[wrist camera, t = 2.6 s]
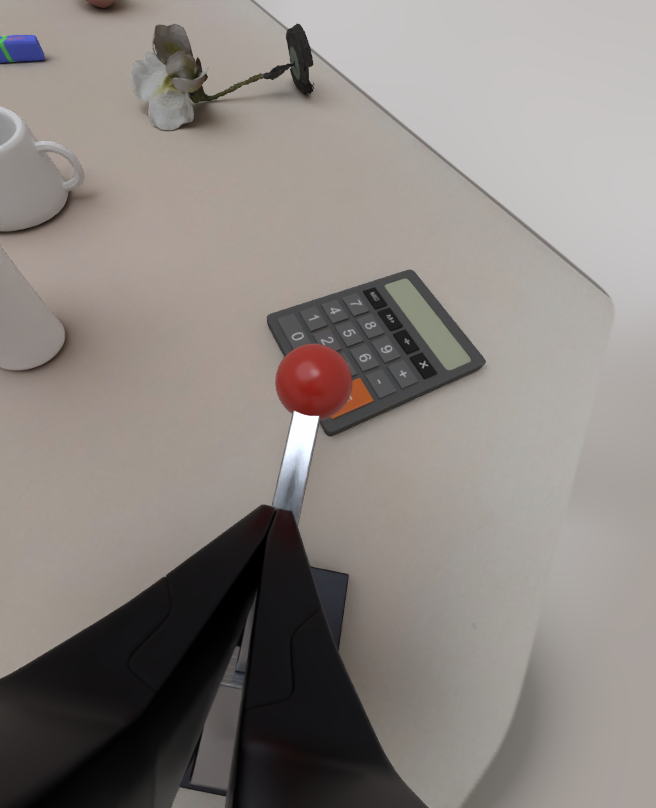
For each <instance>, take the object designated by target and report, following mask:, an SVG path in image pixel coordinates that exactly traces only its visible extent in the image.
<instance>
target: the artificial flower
mask: <svg viewBox="0 0 656 808" xmlns="http://www.w3.org/2000/svg"><path fill="white" fill-rule="evenodd" d="M286 40H287V43H288V49H289V55H290V62H291V64H286V65H282V66H279V65H278V66H277V67H275V68H273V69H272V70H271V71H270V72H269V73H265V74H261V73H260V74H259V75H255V76H253V77H250V78H249V79H248V80H246V81H244V82H240V83H237V84H235V85H234V86H231V87H230V88H229V89H227V90H225V91H223V92H220V93H218V94H216V95H213V96H208V95H206V94H205V93H204V90H203V87H202V84H203V83H204V82H205V81H206V79H207V78H208V76H207V75H206V73H207V70H208V67H206V68H205V70H204V71H203V72H202V67H201V62H200V60H199V58H197V59H196V61H195V59H194V58H193V54H192V50H191V46H190V42H189V39H188V37H187V34H186V32H185V30H184V28H183V27H181V26H180V25H177V24H173V25H170V26H165V25H156V26H155V27H154V35H153V44H154V45H155V50H156V52H157V54H155V51H154V47H153V51H154V53H146V54H145V58H144V59H143V60H140V61H135V62H134V63H133V69H132V73H131V75H130V79H131V84H132V88H133V91H134V93H135V95H136V96H137V97H138V98H139V99H140V100H142V101H145V102H148V103H149V108H148V116H149V118H150V119H151V121H152V122H153V123H154V124H155V125H156V126H157V127H158V128H159V129H161V130H165V131H166V130H174V129H177V128H179V127H180V125H182V124H184V123H190V122H192V121H193V117H194V111H193V107H192V104H191V101H190V99H191V100H192V101H193V102H194V103H199V102H202V101H211V100H214V99H217V98H218V97H220V96H224V95H226V94H227V93H231V92H233V91H235V90H236V89H237V88H240V87H241V86H242V85H246V84H249V83H251V82H255V81H257V80H259V79H262V78H265V79H271V80H274V79H275V78H277V77H279V76H280V75H282V74H283V73H284V71H285V70H287V69H289V67H291V66H292V67H291V69H290V71H291V75H292V78H293V81H294V84H295V85H296V87H299V88H300V89H301V90H302V91H303V92H304V93H309V94H311V91H312V92H313V89H314V86H313V85H312V84H311V83H310V81H309V69H308V67H311V66H313V60H312V55H311V49H310V46H309V43H308V40H307V37H306V34H305V31H304V30H303V28H302V27H301V25H300V24H296V25H295V26H293V27H292V28H290V29H288V30H287V33H286ZM313 84H314V83H313ZM312 86H313V89H312ZM152 122H151V123H152ZM153 123H152V125H153V126H154V127H155V125H154V124H153Z"/></svg>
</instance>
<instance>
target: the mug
mask: <svg viewBox="0 0 656 808" xmlns="http://www.w3.org/2000/svg"><path fill="white" fill-rule="evenodd" d="M46 152H54V153H57V154H60V155H62V156H63V157H65V158H66V159H67V160H68V161H69V162H70V163H71V165H72V166H73V169H74V176H73V178H72V179H70V180H68V181H65V179H64V177H63V176H62V174H61V173H60V171H59V170H58V168H57V167H56V165H55V164H54V162H53V161H52V160H51V158H50V157H49V156H48V154H47V153H46ZM84 178H85V177H84V170H83V168H82V165H81V164H80V162H79V160H78V159H77V158H76V156H75V155H74V154H73V153H72V152H71V151H69V150H68V149H67V148H66V147H64V146H62V145H60V144H58V143H55V142H50V141H40V142H38V140H37V139H36V137H35V136H34V135H33V133H32V132H31V130H30V129H29V128H28V126H27V125H26V123H25V122H24V121H23V119H22V118H21V117H20V116H19V115H17V114H16V113H14V112H13V111H11V110H8V109H5V108H3V107H0V231H15V230H22V229H26V228H29V227H33V226H36V225H39V224H41V223H43V222H45V221H47V220H49V219H51V218H52V217H53V216H55V215H56V214H57V213H59V212H60V210H61V209H62V208H63V207H64V205H65V203H66V200H67V197H68V191H70V190H73V189H76V188H78V187H79V186H80V185H81V184H82V183H83V181H84Z"/></svg>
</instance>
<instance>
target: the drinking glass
mask: <svg viewBox="0 0 656 808" xmlns="http://www.w3.org/2000/svg"><path fill="white" fill-rule="evenodd" d="M64 341H65V329H64V327H63V325H62V323H61V321H60V320H59V319H58V318H57V317H56V316H55V315H54V313H53V312H52V311H51V310H50V309H49V308H48V307H47V306H46V304H45V303H44V302H43V301H42V299H41V298H40V297H39V295H38V294H37V293H36V291H35V290H34V289H33V288H32V286H31V285H30V284H29V282H28V281H27V280H26V278H25V277H24V276H23V274H22V273H21V272H20V271H19V269H18V268H17V267H16V265H15V264H14V263H13V261H12V260H11V259H10V257H9V256H8V255H7V253H6V252H5V251H4V249H3V248H2V247H1V245H0V368H3V369H7V370H27V369H31V368H35V367H37V366H40V365H42V364H44V363H46V362H48V361H49V360H50V359H52V358H53V357H54V356H55V355H56V354H57V353H58V352H59V351H60V349H61V348H62V346H63V344H64Z"/></svg>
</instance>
